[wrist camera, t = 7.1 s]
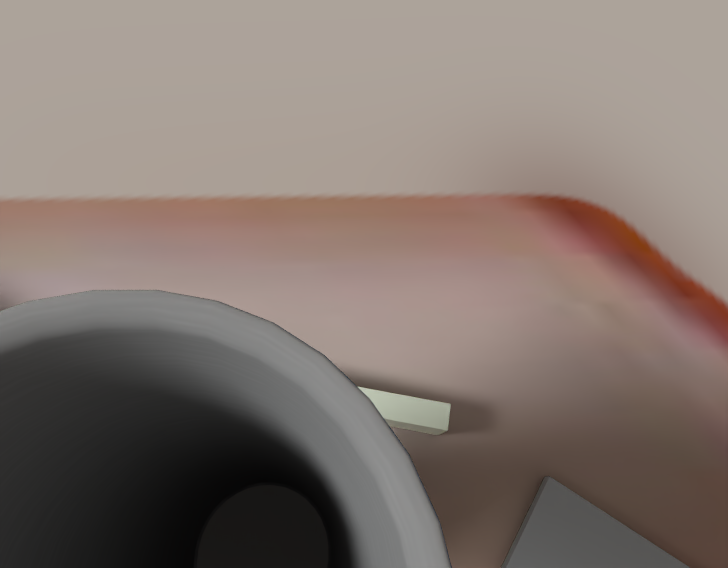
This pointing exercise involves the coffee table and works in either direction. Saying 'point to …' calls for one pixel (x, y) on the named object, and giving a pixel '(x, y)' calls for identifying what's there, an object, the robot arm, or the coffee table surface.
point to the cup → (193, 444)
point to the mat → (579, 536)
